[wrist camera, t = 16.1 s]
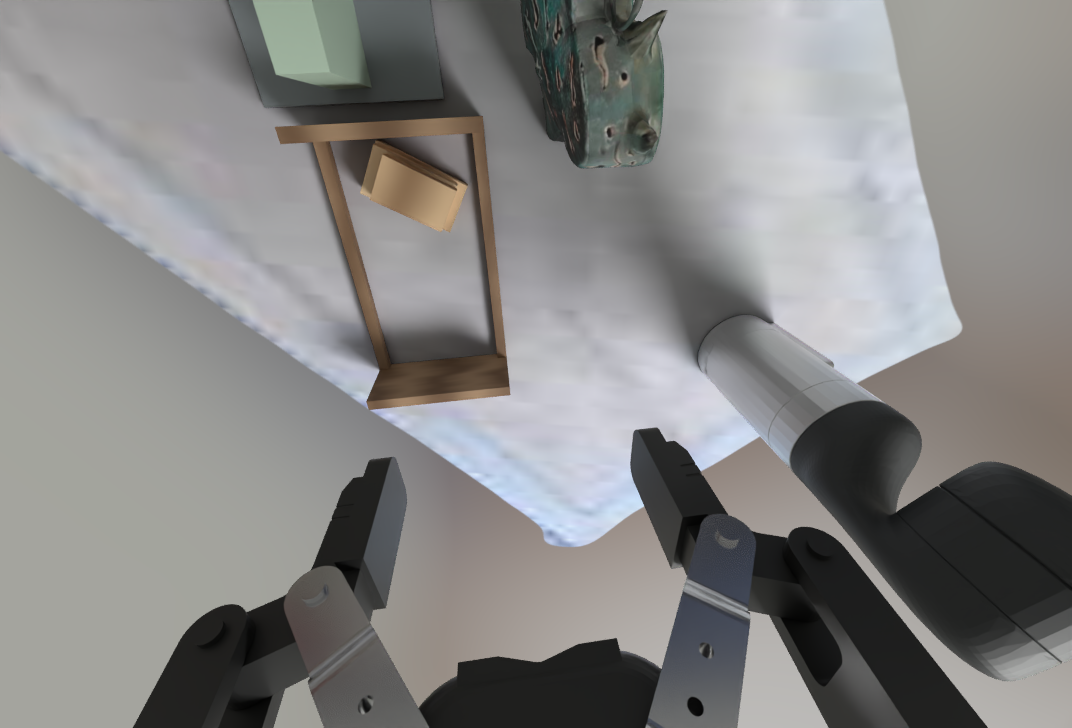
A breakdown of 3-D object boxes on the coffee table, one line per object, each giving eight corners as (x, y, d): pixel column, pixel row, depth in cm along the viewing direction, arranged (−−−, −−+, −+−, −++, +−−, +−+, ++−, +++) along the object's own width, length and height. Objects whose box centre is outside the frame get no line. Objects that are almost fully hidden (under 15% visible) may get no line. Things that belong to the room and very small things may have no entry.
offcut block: (468, 184, 36) (466, 190, 33) (450, 228, 38) (447, 239, 34) (380, 139, 34) (366, 140, 30) (366, 189, 36) (352, 196, 32)
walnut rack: (482, 118, 34) (482, 115, 28) (506, 360, 46) (510, 394, 40) (312, 127, 33) (274, 127, 27) (384, 372, 45) (369, 409, 39)
